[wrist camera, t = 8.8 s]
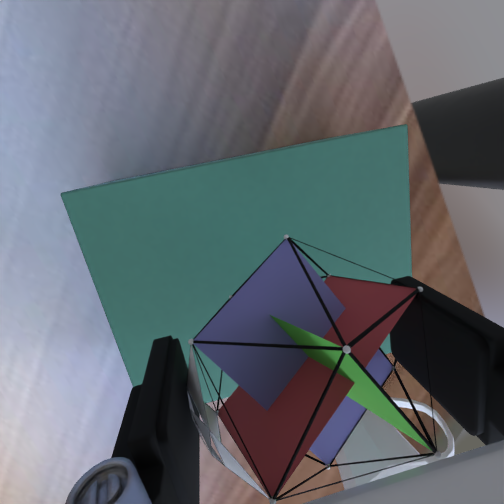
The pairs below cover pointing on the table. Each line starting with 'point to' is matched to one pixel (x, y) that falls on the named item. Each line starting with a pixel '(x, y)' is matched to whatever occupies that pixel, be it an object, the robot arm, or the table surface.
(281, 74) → the table surface
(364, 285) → the geometric puzzle
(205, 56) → the table surface
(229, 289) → the lunchbox lid
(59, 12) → the table surface
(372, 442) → the cup
